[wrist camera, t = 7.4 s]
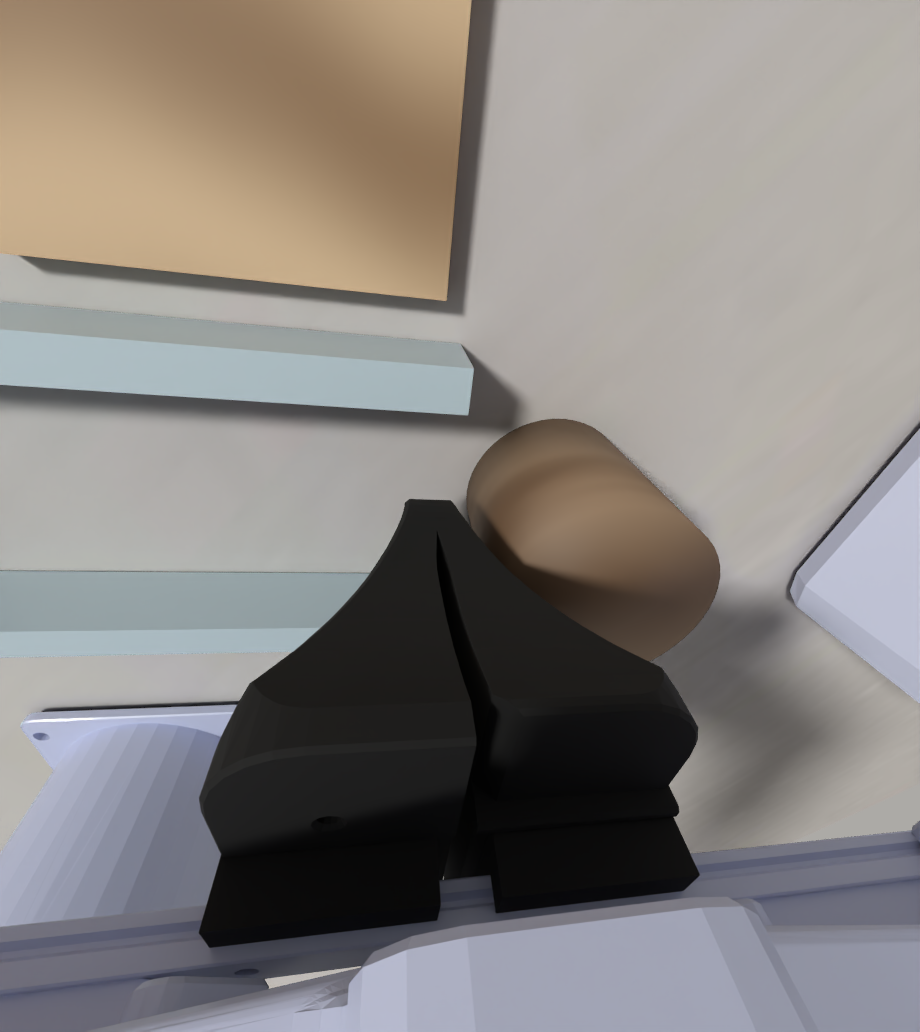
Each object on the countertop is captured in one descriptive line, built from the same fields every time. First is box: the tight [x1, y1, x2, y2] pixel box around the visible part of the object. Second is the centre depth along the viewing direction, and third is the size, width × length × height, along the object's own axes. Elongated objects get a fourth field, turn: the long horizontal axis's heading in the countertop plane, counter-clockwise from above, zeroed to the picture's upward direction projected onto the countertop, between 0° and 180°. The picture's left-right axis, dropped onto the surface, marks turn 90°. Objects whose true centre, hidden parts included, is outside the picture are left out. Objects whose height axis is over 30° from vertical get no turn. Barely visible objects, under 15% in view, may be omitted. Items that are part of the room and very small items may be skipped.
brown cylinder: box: [466, 419, 720, 661], centre depth 12 cm, size 5×5×5 cm
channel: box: [0, 302, 474, 658], centre depth 11 cm, size 9×14×2 cm, turn 84°
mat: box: [0, 0, 471, 301], centre depth 8 cm, size 6×9×1 cm
